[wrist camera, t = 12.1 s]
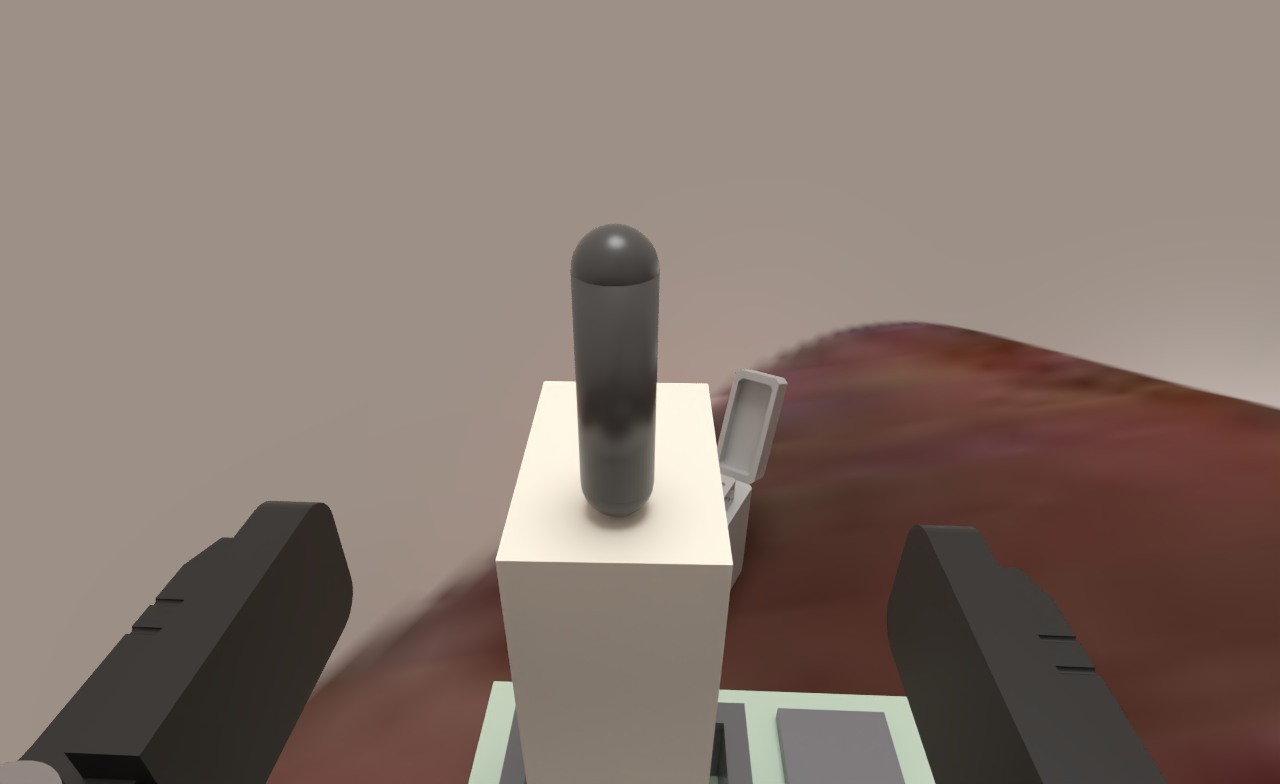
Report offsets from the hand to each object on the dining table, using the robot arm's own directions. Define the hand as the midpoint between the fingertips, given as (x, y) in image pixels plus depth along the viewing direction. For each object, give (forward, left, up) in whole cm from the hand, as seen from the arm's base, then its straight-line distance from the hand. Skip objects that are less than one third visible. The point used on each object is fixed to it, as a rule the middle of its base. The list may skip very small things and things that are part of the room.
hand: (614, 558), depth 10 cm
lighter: (-10, -9, -14) cm, 19 cm away
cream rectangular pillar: (-1, -1, -12) cm, 12 cm away
